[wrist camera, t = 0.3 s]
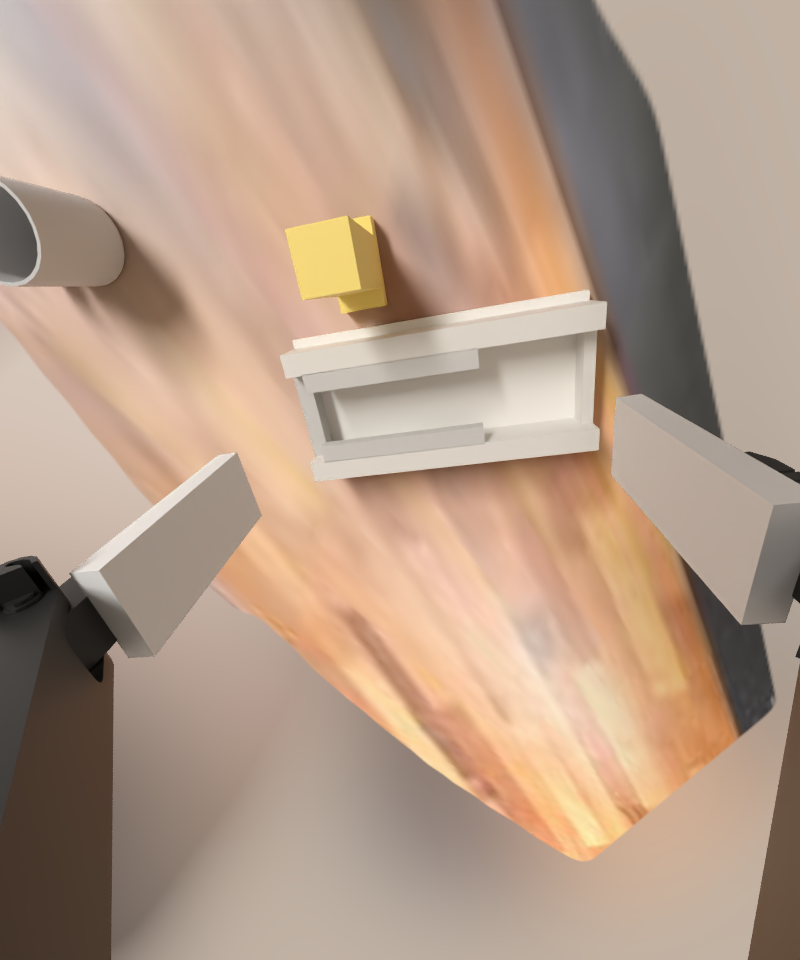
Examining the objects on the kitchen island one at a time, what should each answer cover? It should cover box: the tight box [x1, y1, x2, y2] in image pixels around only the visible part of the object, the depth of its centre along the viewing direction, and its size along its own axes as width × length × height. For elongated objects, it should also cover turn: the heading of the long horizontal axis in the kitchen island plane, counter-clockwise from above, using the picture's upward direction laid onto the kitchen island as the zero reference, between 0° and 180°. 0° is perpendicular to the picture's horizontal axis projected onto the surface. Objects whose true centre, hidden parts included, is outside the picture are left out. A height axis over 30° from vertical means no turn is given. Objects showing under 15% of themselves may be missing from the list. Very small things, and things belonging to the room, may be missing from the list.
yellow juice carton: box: [285, 215, 388, 314], centre depth 30 cm, size 7×4×12 cm, turn 9°
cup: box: [0, 176, 125, 286], centre depth 33 cm, size 7×10×9 cm
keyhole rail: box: [280, 290, 607, 482], centre depth 37 cm, size 14×27×5 cm, turn 99°
